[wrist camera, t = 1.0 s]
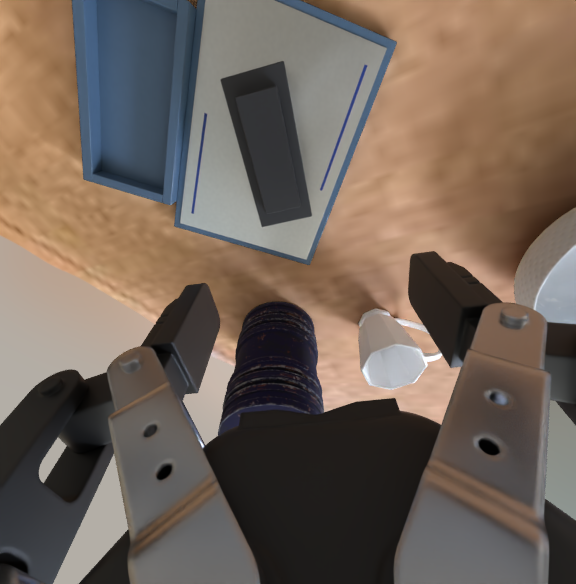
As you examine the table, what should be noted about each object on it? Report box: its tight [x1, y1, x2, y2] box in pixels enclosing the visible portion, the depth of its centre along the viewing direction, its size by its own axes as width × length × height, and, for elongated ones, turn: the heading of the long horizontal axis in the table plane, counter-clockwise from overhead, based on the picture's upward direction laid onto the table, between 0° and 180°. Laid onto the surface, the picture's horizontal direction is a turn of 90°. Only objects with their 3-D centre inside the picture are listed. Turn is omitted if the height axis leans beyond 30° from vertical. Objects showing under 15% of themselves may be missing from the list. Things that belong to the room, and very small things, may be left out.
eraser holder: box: [72, 0, 196, 205], centre depth 24 cm, size 15×8×3 cm, turn 163°
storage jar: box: [218, 302, 324, 436], centre depth 32 cm, size 10×10×15 cm
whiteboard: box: [174, 0, 397, 265], centre depth 26 cm, size 20×15×1 cm
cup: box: [358, 308, 442, 390], centre depth 34 cm, size 7×10×8 cm
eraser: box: [221, 61, 312, 227], centre depth 24 cm, size 11×5×5 cm, turn 13°
